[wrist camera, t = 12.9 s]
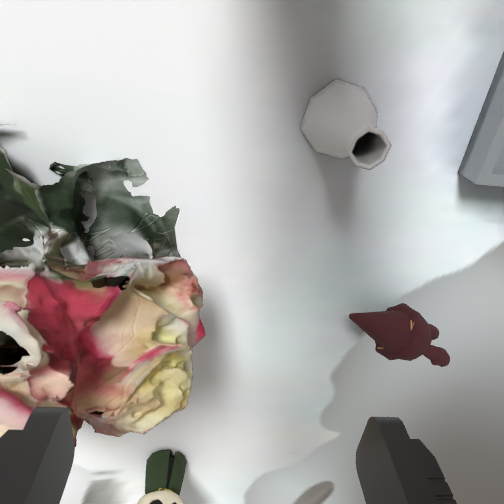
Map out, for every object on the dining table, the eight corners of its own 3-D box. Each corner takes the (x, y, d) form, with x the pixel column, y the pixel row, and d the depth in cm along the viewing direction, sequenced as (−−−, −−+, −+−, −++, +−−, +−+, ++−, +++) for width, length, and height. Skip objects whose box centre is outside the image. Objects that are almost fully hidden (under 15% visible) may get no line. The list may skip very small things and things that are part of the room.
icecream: (335, 357, 47) (429, 384, 52) (378, 325, 43) (476, 358, 48) (327, 308, 52) (413, 337, 57) (364, 275, 47) (454, 310, 53)
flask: (390, 109, 40) (436, 136, 31) (341, 169, 42) (371, 209, 34) (334, 63, 37) (367, 78, 28) (286, 129, 40) (303, 161, 31)
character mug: (206, 452, 65) (203, 544, 54) (191, 477, 68) (185, 568, 57) (140, 438, 62) (121, 531, 51) (127, 464, 66) (107, 557, 54)
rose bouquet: (4, 348, 52) (-213, 680, 26) (-67, 112, 37) (-724, 335, 11) (206, 352, 54) (189, 660, 28) (213, 131, 40) (192, 352, 14)
